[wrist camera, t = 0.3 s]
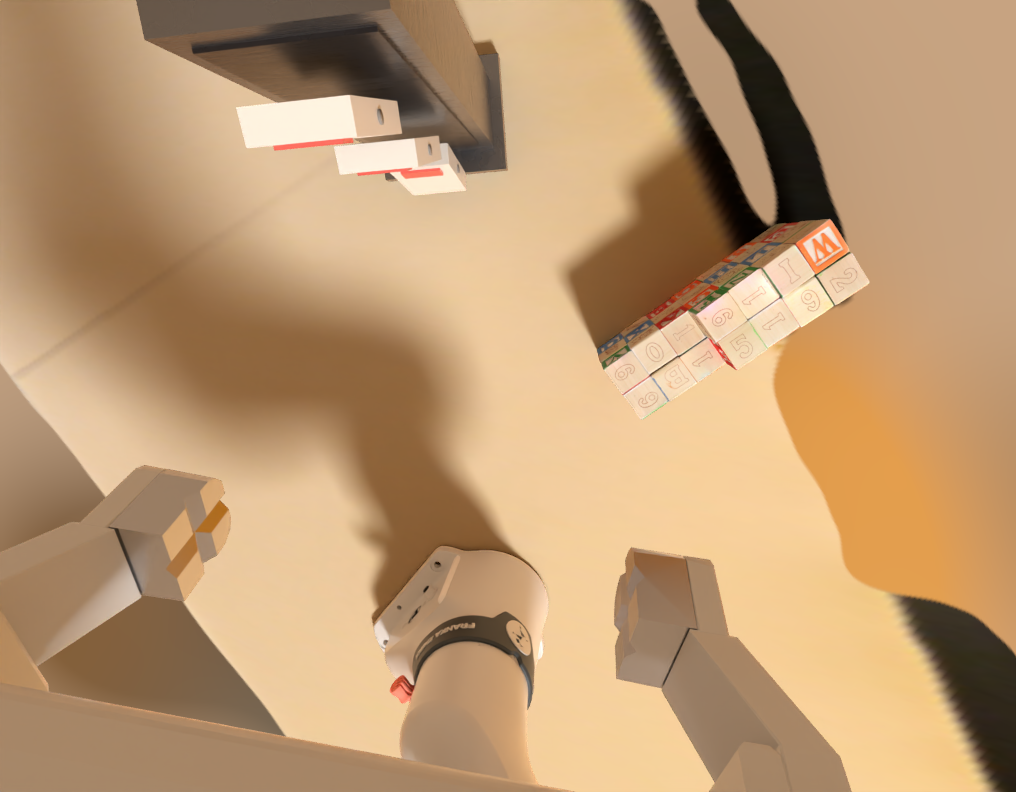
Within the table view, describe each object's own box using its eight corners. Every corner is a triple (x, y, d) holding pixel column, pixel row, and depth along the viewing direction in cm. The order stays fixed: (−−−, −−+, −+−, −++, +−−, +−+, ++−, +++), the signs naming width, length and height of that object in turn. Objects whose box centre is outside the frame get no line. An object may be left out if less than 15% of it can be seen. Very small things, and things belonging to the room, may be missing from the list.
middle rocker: (443, 162, 42) (420, 170, 35) (375, 168, 43) (338, 178, 36) (440, 135, 42) (415, 138, 34) (370, 142, 42) (332, 146, 35)
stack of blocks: (628, 395, 62) (644, 432, 50) (595, 349, 61) (603, 375, 49) (809, 273, 57) (873, 283, 46) (776, 221, 56) (833, 217, 45)
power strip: (507, 170, 57) (393, 28, 18) (390, 181, 58) (49, 70, 20) (499, 57, 55) (346, -386, 16) (376, 72, 56) (-47, -307, 17)
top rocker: (404, 137, 32) (360, 141, 25) (314, 146, 32) (245, 153, 25) (398, 100, 31) (351, 94, 24) (306, 110, 32) (233, 107, 24)
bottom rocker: (467, 192, 53) (450, 166, 45) (412, 197, 54) (385, 172, 46) (466, 172, 53) (448, 142, 45) (411, 177, 53) (384, 149, 46)
